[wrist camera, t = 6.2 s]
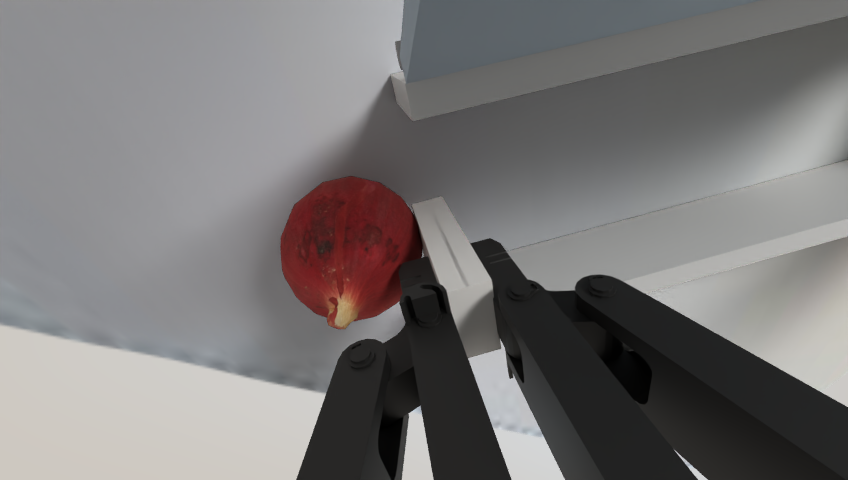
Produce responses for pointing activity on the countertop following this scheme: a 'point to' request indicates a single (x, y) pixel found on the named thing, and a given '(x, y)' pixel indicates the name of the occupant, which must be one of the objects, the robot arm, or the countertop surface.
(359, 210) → the onion
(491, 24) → the cover
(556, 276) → the grey tray
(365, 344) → the robot arm
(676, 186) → the countertop surface
